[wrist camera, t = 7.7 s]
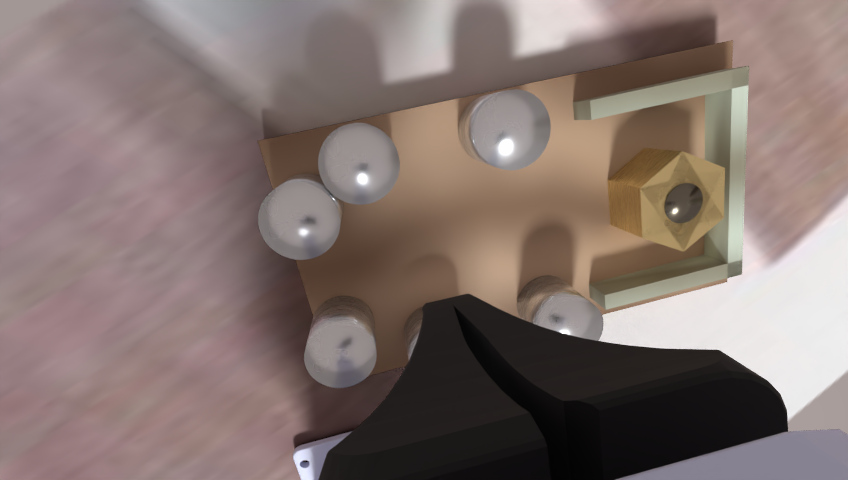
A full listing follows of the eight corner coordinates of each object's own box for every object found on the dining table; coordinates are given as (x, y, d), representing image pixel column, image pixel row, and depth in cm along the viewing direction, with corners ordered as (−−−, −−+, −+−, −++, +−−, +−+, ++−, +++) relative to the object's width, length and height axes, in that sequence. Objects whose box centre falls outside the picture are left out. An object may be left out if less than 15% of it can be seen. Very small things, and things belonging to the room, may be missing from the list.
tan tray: (709, 274, 24) (751, 292, 21) (336, 371, 22) (332, 403, 20) (711, 44, 20) (762, 33, 18) (263, 139, 18) (248, 142, 16)
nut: (701, 191, 21) (745, 201, 19) (630, 251, 21) (664, 268, 19) (663, 131, 20) (705, 132, 17) (588, 196, 20) (620, 206, 18)
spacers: (573, 320, 22) (605, 349, 19) (330, 384, 21) (325, 425, 18) (549, 81, 18) (583, 74, 16) (253, 144, 17) (232, 148, 15)
